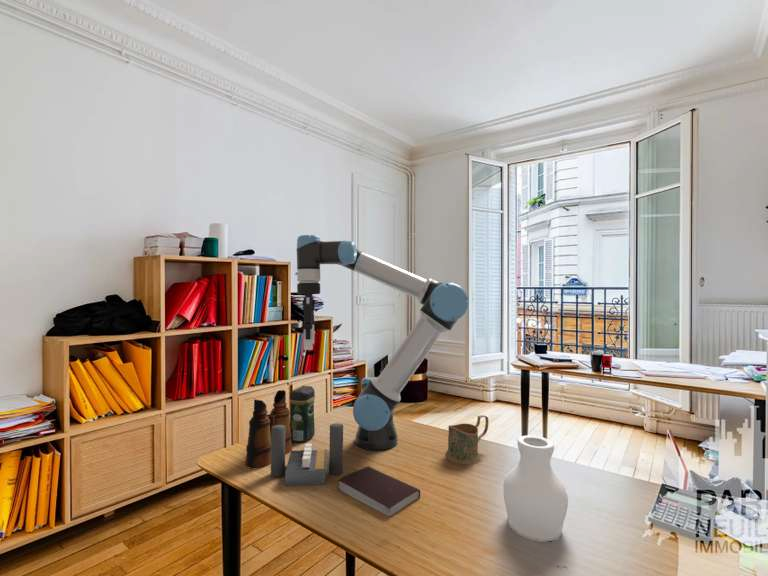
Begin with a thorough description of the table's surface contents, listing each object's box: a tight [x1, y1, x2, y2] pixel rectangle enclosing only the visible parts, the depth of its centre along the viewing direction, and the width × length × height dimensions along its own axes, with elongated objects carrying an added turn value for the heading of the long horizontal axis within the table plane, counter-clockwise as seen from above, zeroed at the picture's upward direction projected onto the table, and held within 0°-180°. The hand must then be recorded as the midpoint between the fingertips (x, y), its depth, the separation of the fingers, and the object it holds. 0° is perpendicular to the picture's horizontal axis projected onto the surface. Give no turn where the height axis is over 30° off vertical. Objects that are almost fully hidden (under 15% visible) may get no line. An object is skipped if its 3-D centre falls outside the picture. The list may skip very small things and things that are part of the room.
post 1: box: [270, 425, 286, 479], centre depth 116 cm, size 4×4×14 cm
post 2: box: [328, 422, 344, 476], centre depth 118 cm, size 4×4×14 cm
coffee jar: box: [289, 385, 316, 443], centre depth 144 cm, size 10×8×19 cm
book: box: [337, 466, 421, 518], centre depth 106 cm, size 12×19×3 cm, turn 48°
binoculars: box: [244, 389, 293, 469], centre depth 128 cm, size 18×8×20 cm, turn 156°
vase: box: [503, 434, 569, 543], centre depth 92 cm, size 14×14×20 cm
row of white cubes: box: [302, 443, 313, 468], centre depth 117 cm, size 2×11×2 cm, turn 7°
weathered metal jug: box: [444, 415, 489, 465], centre depth 132 cm, size 12×18×12 cm, turn 124°
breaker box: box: [284, 449, 328, 487], centre depth 117 cm, size 11×14×4 cm
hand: (309, 346), depth 130 cm, fingers open, 13 cm apart
